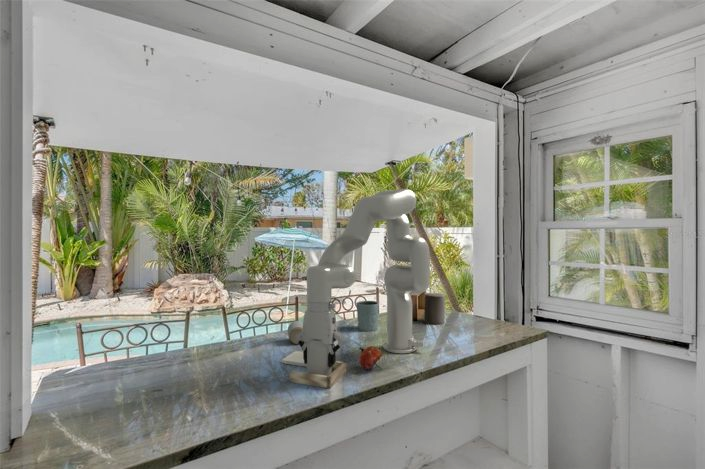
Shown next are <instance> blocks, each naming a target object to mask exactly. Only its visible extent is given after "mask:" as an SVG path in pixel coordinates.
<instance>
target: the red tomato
mask: <svg viewBox="0 0 705 469" xmlns="http://www.w3.org/2000/svg"><path fill="white" fill-rule="evenodd" d="M358 350H360V352H361V353H360V355H359V356H358V359H359V360H358V361H359V364H360V366H361V367H362V368H363V369H365V370H366V371H369V370H371V369H372V367H373V366H374V365H375V366H376V367H378V368H379V369H380V370H381V371H383V369H382V368H381V367H380V366H379V365H378V364H377V362H378V361H379V360H380V359H381V357H382V356H383V354H382V351H381V350H380V349H379V348H378V347H375V346H372V345H371V346H367V347H366V348H362V347H359V348H358Z"/></svg>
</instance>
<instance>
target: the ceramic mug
mask: <svg viewBox="0 0 705 469" xmlns="http://www.w3.org/2000/svg"><path fill="white" fill-rule="evenodd" d="M302 329H303V321H300V320H294V321H292V322H290V324H288V327H287V335H288V339H289V340H290V341H291V343H292V344H294V345H299V344H298V342H297V340H296V338H295V335H297V334H298V333H299V332H301V331H302ZM301 338H302V336H301ZM302 340H303V338H302Z"/></svg>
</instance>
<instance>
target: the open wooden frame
mask: <svg viewBox="0 0 705 469" xmlns="http://www.w3.org/2000/svg"><path fill="white" fill-rule="evenodd" d="M347 365H348V364H347V362H346V361H339V360H336V362H335V364H334V365H333V366H332V373H331V374H330V375H329V376H325V375H318V374H312V373H307V372H305V371H297V370H290V371H289V382H290V383H295V384H302V385H307V386H313V387H319V388H326V389H327V388H328V389H331V388H332V387H333V386H334V385H335V384H336V383H337V382H338V381H339V380H340V379H341V378H342V377H343V376H344V375H345V374H346V373H347V370H348V369H347Z"/></svg>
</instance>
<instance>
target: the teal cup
mask: <svg viewBox="0 0 705 469" xmlns="http://www.w3.org/2000/svg"><path fill="white" fill-rule="evenodd" d="M356 317H357V326H358V327H357V328H358V330H359V331H362V332H374V331H375V332H376V331H377V330H378V322H379V320H378V319H379V302H378V301H376V300H360V301H356Z"/></svg>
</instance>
